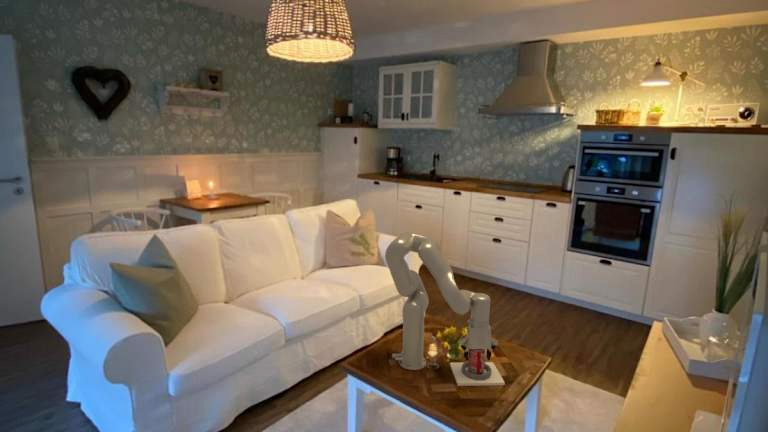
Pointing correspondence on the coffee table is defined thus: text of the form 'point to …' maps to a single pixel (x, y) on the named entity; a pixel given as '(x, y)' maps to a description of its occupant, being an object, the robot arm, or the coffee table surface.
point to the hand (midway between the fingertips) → (477, 358)
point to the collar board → (476, 383)
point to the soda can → (476, 361)
